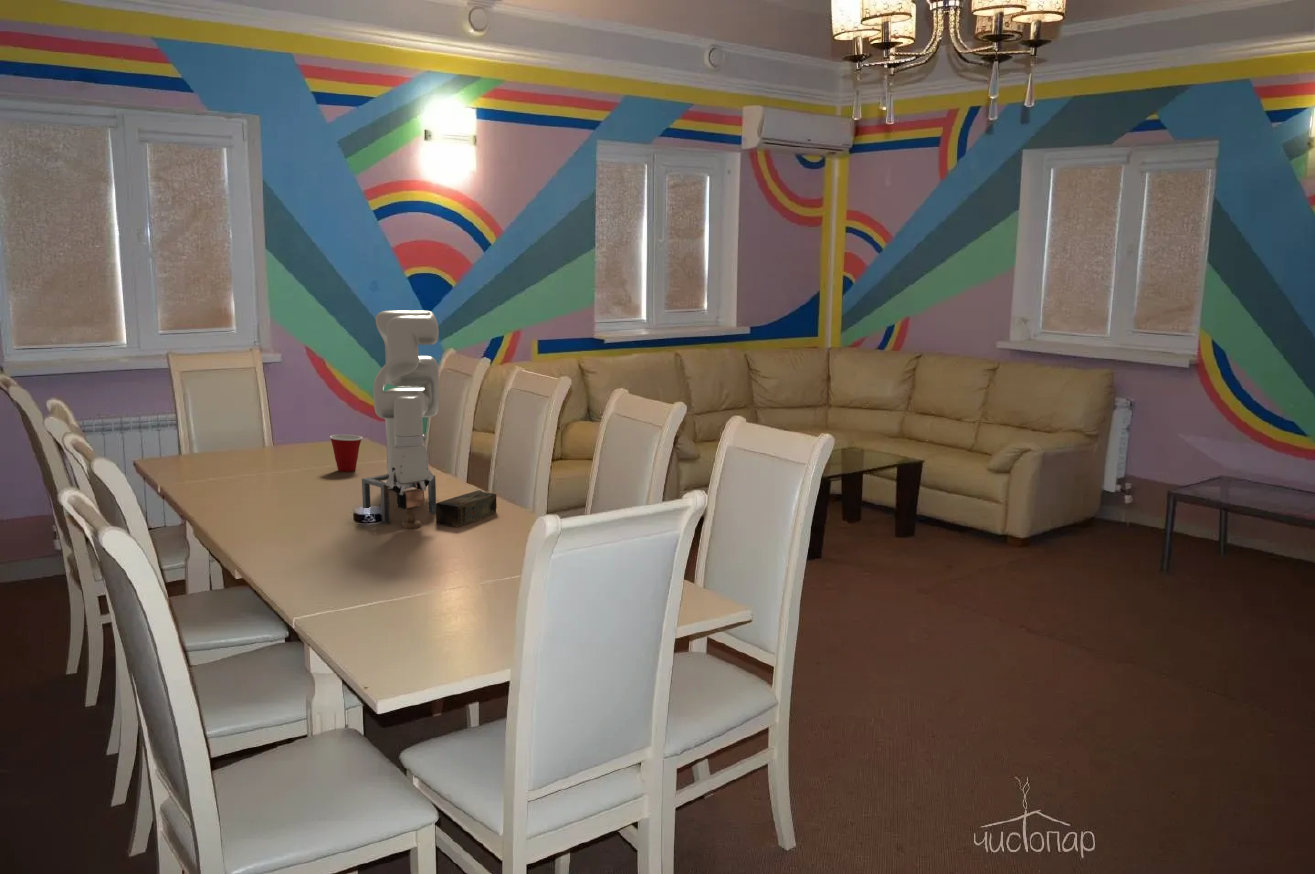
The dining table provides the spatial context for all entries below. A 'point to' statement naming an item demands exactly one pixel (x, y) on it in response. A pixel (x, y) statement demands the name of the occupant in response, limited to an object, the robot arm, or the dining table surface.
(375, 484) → the keyhole rack
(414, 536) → the dining table surface
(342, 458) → the plastic cup
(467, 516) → the beverage carton
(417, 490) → the t peg
